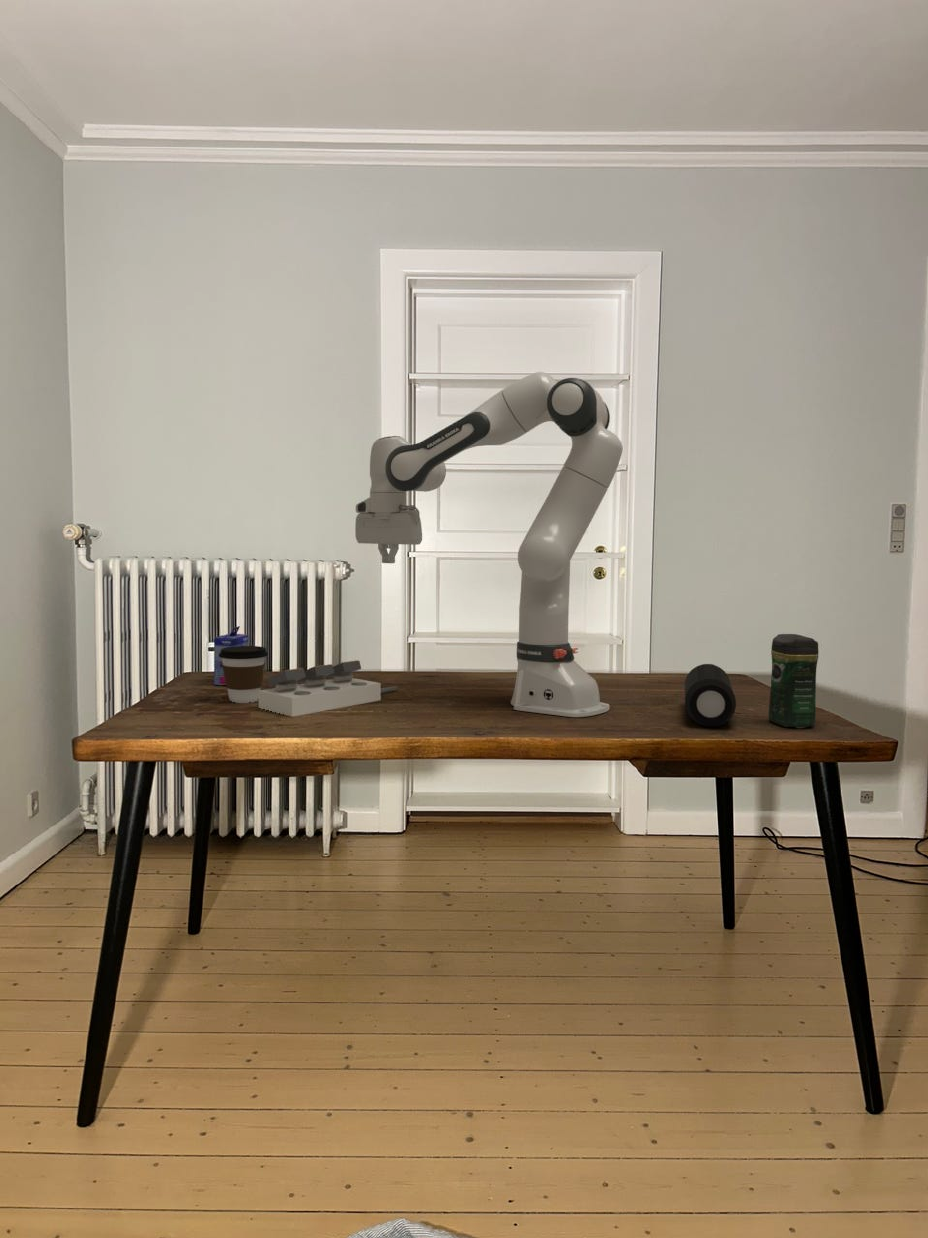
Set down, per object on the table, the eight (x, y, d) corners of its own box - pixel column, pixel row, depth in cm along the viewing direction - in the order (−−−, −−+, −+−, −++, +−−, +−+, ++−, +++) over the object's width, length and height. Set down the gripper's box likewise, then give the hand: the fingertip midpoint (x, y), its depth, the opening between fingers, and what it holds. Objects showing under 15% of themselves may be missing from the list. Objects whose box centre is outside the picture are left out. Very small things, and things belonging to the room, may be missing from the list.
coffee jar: (821, 729, 177) (826, 637, 175) (783, 729, 176) (788, 637, 174) (798, 718, 186) (802, 631, 184) (762, 719, 186) (766, 631, 184)
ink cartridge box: (234, 686, 219) (232, 629, 218) (213, 686, 220) (211, 628, 218) (250, 680, 229) (249, 624, 227) (229, 679, 230) (228, 624, 228)
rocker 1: (305, 677, 192) (303, 667, 192) (286, 679, 188) (284, 670, 189) (287, 684, 197) (285, 674, 197) (268, 687, 193) (266, 677, 193)
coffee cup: (266, 695, 208) (265, 644, 207) (271, 703, 198) (270, 651, 197) (218, 697, 205) (217, 646, 204) (221, 706, 195) (219, 652, 193)
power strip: (413, 694, 211) (413, 670, 210) (292, 716, 185) (291, 690, 184) (379, 687, 219) (379, 665, 218) (258, 708, 193) (258, 683, 192)
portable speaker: (735, 731, 175) (737, 682, 174) (684, 728, 177) (686, 679, 176) (728, 706, 199) (730, 663, 198) (683, 704, 202) (685, 661, 201)
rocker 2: (334, 673, 198) (332, 663, 198) (316, 675, 194) (314, 666, 194) (316, 679, 203) (314, 670, 203) (298, 682, 199) (296, 673, 199)
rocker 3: (361, 668, 204) (359, 659, 204) (344, 671, 200) (342, 662, 200) (343, 675, 208) (340, 666, 209) (326, 678, 205) (324, 669, 205)
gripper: (428, 505, 206) (428, 564, 208) (370, 506, 220) (370, 561, 222) (409, 504, 202) (408, 564, 203) (350, 505, 216) (351, 562, 217)
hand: (388, 563), depth 213 cm, fingers closed
